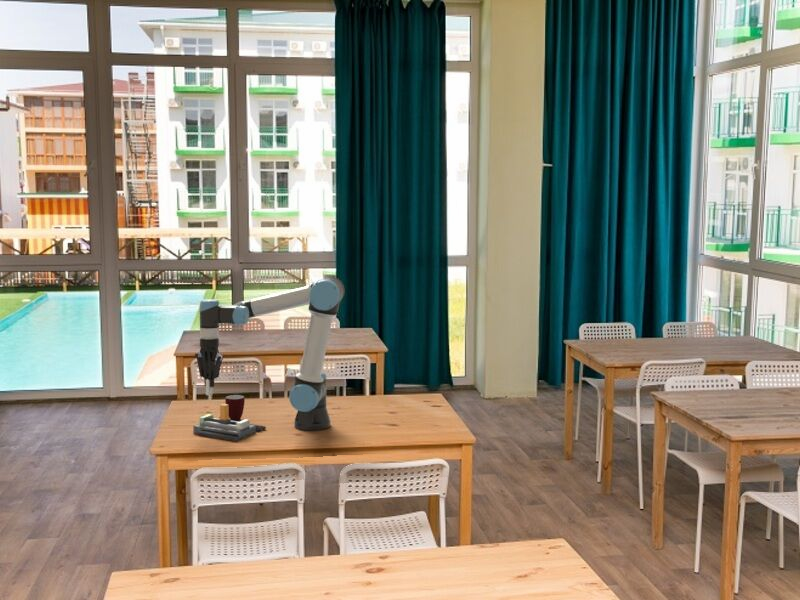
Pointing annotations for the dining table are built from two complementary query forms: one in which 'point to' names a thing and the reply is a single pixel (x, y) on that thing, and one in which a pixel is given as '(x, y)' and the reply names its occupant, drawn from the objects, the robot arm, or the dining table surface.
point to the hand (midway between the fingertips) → (209, 394)
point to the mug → (235, 406)
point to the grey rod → (258, 428)
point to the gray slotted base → (225, 427)
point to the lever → (224, 414)
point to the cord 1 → (218, 435)
